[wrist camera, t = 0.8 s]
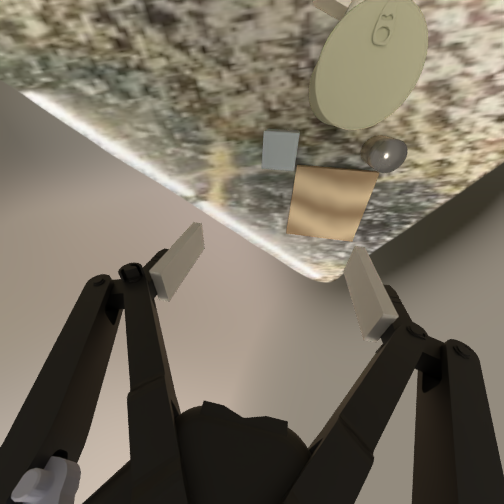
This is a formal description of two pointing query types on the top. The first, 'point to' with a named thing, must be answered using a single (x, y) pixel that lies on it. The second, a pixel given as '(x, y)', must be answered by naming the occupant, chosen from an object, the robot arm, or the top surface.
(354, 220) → the board
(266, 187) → the top surface
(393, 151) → the tin
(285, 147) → the block gray
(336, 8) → the block white
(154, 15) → the top surface
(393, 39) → the can
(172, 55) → the top surface
